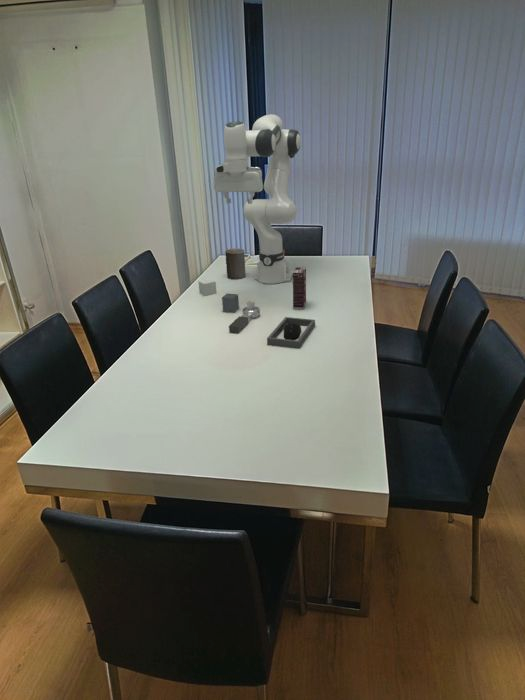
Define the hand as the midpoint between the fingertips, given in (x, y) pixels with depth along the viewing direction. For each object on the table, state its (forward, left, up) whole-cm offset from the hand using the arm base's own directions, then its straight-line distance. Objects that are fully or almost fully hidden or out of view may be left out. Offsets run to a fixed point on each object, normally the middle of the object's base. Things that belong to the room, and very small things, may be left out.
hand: (239, 203), depth 197 cm
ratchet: (+22, +9, -43) cm, 49 cm away
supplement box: (-2, +25, -43) cm, 49 cm away
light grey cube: (-8, -22, -43) cm, 49 cm away
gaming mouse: (+29, +31, -43) cm, 60 cm away
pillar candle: (-35, -19, -43) cm, 58 cm away
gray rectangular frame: (+28, +31, -43) cm, 60 cm away
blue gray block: (+10, -2, -43) cm, 44 cm away
